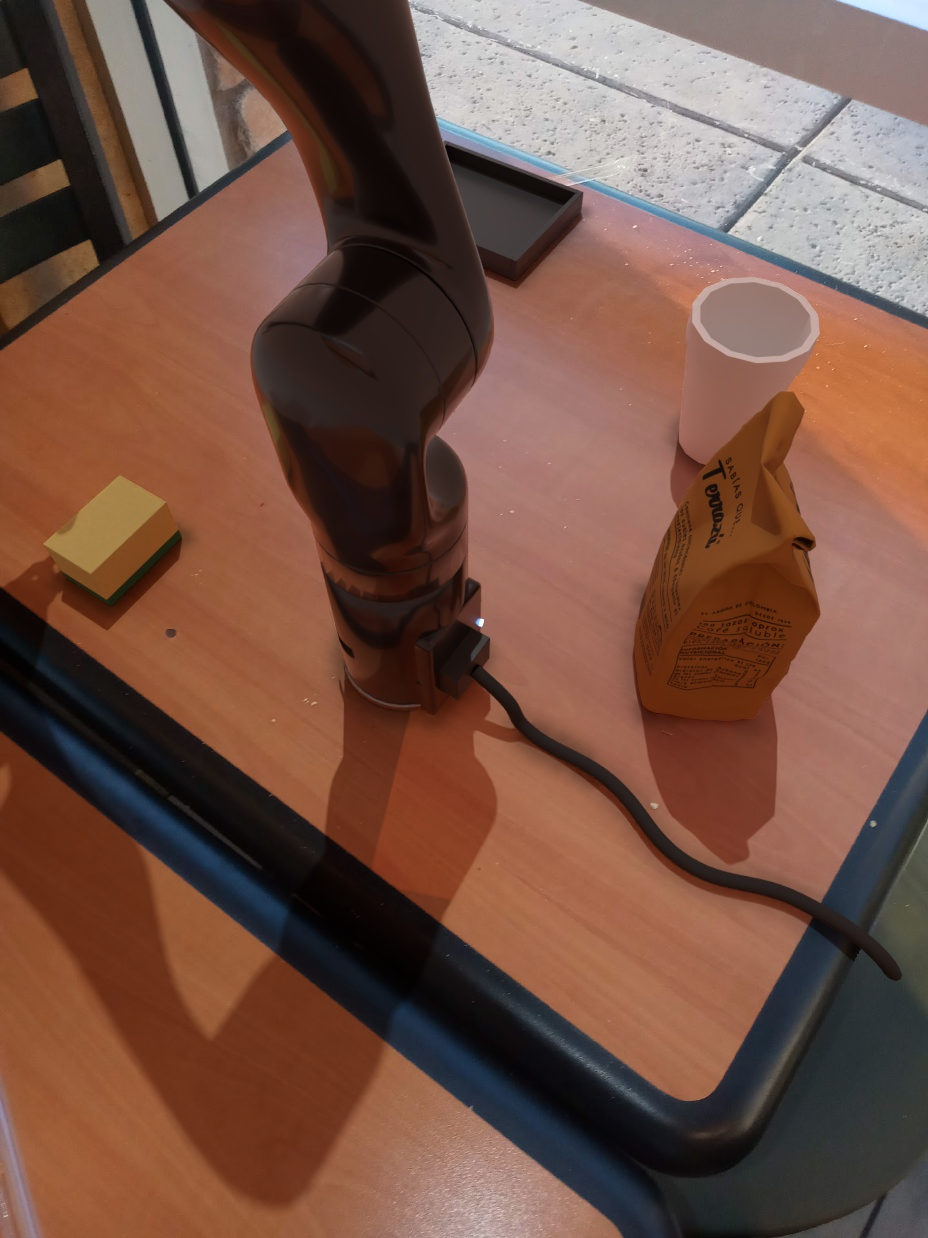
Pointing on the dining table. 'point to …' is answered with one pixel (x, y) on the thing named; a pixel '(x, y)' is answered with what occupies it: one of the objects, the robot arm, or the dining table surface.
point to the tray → (510, 209)
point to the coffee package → (730, 580)
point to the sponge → (114, 540)
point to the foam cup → (740, 357)
